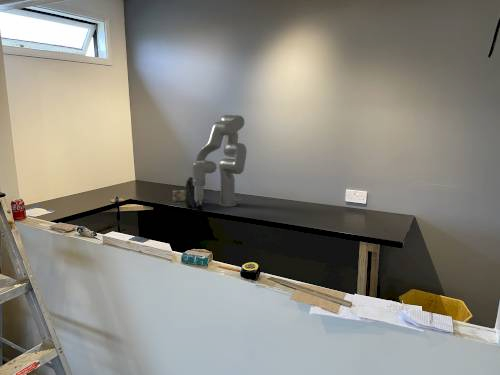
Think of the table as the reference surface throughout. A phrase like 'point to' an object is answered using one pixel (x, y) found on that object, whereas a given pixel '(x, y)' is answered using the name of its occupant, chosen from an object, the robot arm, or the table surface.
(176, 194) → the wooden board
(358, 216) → the table surface
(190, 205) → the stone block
